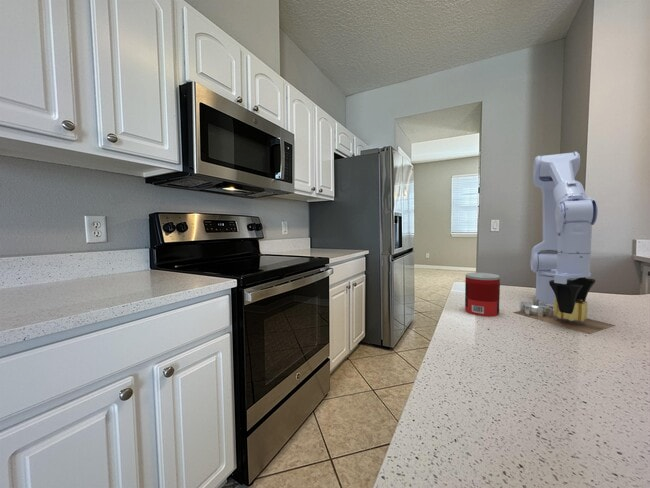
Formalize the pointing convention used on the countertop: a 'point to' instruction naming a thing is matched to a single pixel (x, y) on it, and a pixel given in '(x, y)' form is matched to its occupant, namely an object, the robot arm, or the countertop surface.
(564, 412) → the countertop surface
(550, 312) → the gear
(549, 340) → the countertop surface
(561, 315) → the brass gear
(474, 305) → the canned food
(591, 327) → the gear board
